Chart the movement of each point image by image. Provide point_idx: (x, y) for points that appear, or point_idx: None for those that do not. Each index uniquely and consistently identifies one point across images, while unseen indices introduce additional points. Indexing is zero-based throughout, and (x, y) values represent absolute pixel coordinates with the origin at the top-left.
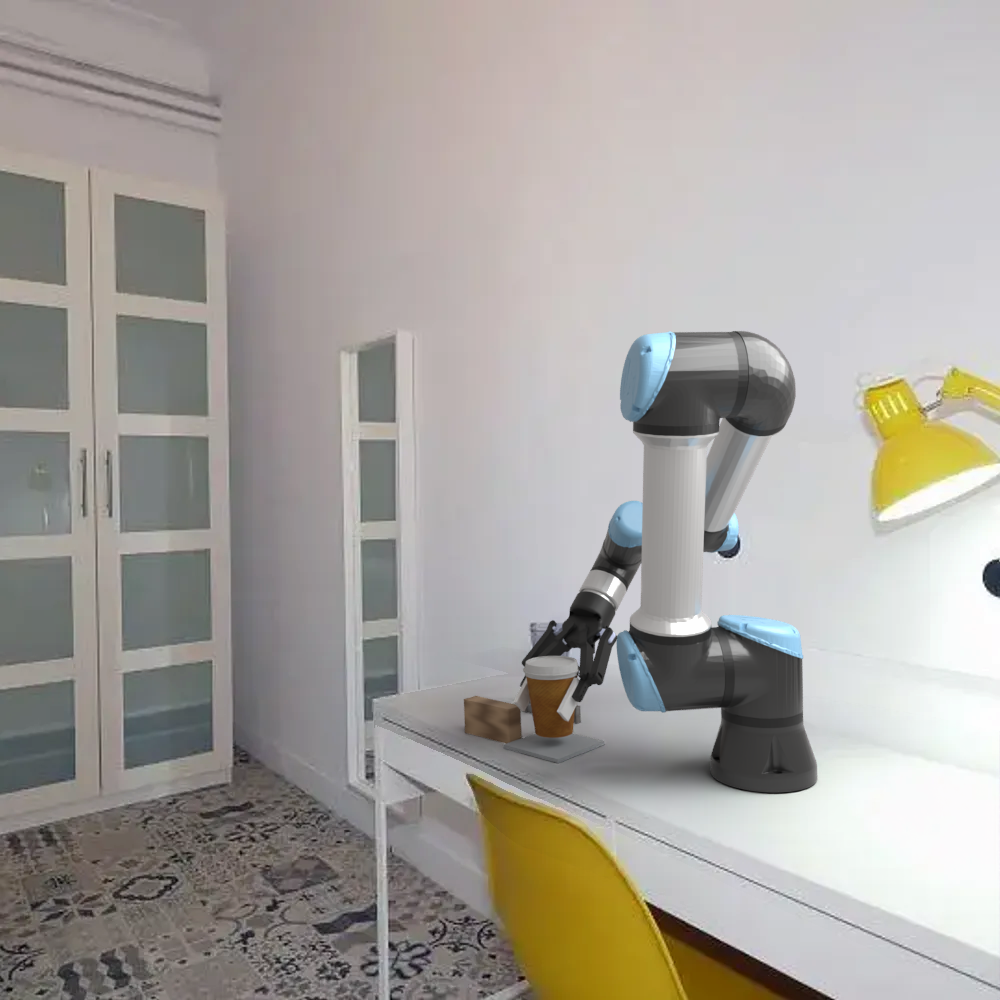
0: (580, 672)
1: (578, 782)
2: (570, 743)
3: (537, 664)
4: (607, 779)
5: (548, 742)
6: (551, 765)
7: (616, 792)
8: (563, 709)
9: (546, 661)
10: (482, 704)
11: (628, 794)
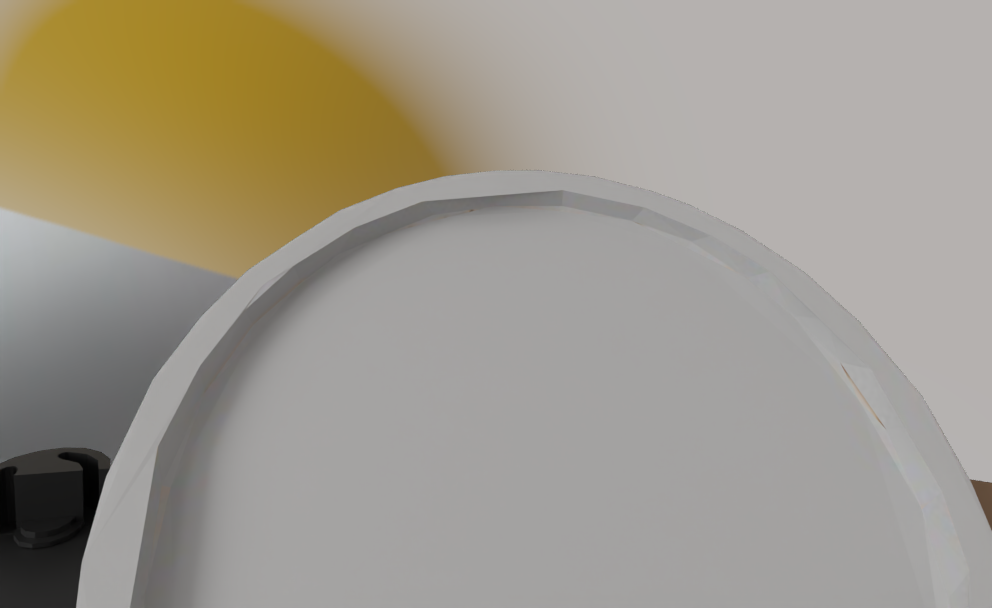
0: (73, 569)
1: (212, 275)
2: None
3: (674, 339)
4: (112, 339)
5: None
6: None
7: (61, 259)
8: None
9: (713, 568)
10: (987, 484)
11: (15, 261)
